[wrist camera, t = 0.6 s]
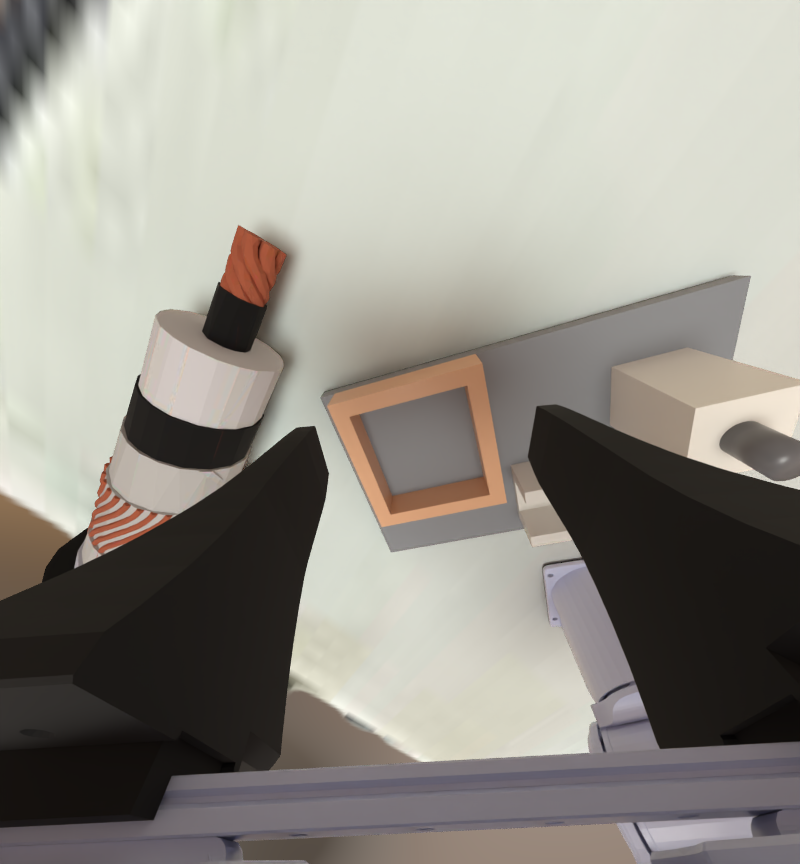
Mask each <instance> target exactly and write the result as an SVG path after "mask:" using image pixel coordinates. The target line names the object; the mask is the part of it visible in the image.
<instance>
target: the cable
mask: <svg viewBox="0 0 800 864" xmlns="http://www.w3.org/2000/svg"><path fill="white" fill-rule="evenodd" d="M285 258H286V254H285V253H283V252H282V251H280V250H279V249H278V248H276V247H275V246H273V245H272V244H270V243H268V242H267V241H264V240H263V239H262V238H260V237H259V236H257V235H255V234H254V233H252V232H250V231H248V230H246V229H244V228H243V227H241V226H239V225H238V228H237V231H236V234H235V237H234V240H233V243H232V247H231V254H230V255H229V257H228V260H227V265H226V269H225V273H224V274H223V277H222V279H221V282H218V285H217V288H216V291H215V294H214V297H213V300H212V303H211V306H210V309H209V312H208V315H207V316H204V315H201V314H197V313H193V312H190V311H181V310H173V309H169V310H164V311H160V312H159V313H158V314H156V315H155V319H154V323H153V327H152V331H151V335H150V339H149V344H148V348H147V352H146V356H145V360H144V364H143V368H142V372H141V375H139V376H138V377H137V380H136V383H135V387H134V390H133V394H132V397H131V401H130V404H129V408H128V412H127V415H126V416H125V417H124V419H123V422H122V426H121V429H120V433H119V436H118V440H117V443H116V447H115V450H114V454H113V456H112V457H110V463H106V464H105V465H104V471H103V472H102V474H101V478H100V483H101V485H100V487H99V490H98V492H97V494H98V496H99V498H98V499H97V500H96V502H95V507H96V508H97V509H95V510H94V511H93V513H92V519H91V522H90V525H89V528H87V529H85V530H84V531H83V532H81V533H80V534H78V535H77V536H76V537H74V538H73V539H72V540H70V541H69V542H68V543H66V544H65V545H64V546H62V547H61V548H59V550H58V551H57V552H56V554H55V555H54V556H53V558H52V559H51V561H50V562H49V564H48V565H47V566H46V569H45V573H44V576H43V580H42V583H43V582H45V581H47V580H50V579H52V578H54V577H57V576H59V575H61V574H63V573H66V572H68V571H70V570H72V569H74V568H76V567H79V566H81V565H83V564H85V563H87V562H89V561H91V560H93V559H95V558H97V557H99V556H102V555H104V554H106V553H108V552H110V551H112V550H114V549H116V548H118V547H120V546H122V545H124V544H126V543H128V542H129V541H131V540H133V539H135V538H137V537H139V536H141V535H143V534H144V533H146V532H148V531H150V530H152V529H153V528H155V527H157V526H159V525H160V524H162V523H164V522H166V521H167V520H169V519H171V518H173V517H175V516H176V515H178V514H180V513H182V512H183V511H185V510H186V509H188V508H190V507H191V506H193V505H194V504H196V503H197V502H199V501H201V500H202V499H204V498H205V497H207V496H208V495H210V494H211V493H213V492H214V491H216V490H217V489H219V488H220V487H221V486H223V485H224V484H226V483H227V482H228V481H230V480H231V479H232V478H234V477H235V476H236V475H237V474H239V473H240V472H241V471H242V469H243V466H244V464H245V462H246V460H247V457H248V455H249V453H250V450H251V443H252V441H253V439H254V437H255V434H256V432H257V430H258V428H259V425H260V423H261V421H262V418H263V416H264V414H263V412H264V410H265V408H266V406H267V403H268V401H269V399H270V397H271V394H272V392H273V390H274V388H275V385H276V383H277V381H278V379H279V376H280V374H281V372H282V370H283V364H284V362H283V360H282V358H281V357H280V355H279V354H278V353H276V352H275V351H274V350H273V349H272V348H271V347H270V346H269V345H267V344H265V343H264V342H262V341H260V340H258V339H256V335H257V332H258V330H259V327H260V324H261V322H262V319H263V317H264V314H265V311H266V309H267V305H266V303H267V302H268V300H269V291H271V289H272V288H273V286H274V285H275V282H276V278H277V277H276V275H277V274H278V273H279V272H280V270H281V267H282V265H283V262H284V260H285Z"/></svg>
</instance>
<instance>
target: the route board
mask: <svg viewBox="0 0 800 864" xmlns="http://www.w3.org/2000/svg"><path fill="white" fill-rule="evenodd" d="M750 278H751V276H729V277H726V278H722V279H719V280H715V281H712V282H708V283H705V284H701V285H698V286H694V287H691V288H687V289H684V290H680V291H677V292H673V293H670V294H666V295H663V296H659V297H656V298H652V299H649V300H645V301H642V302H638V303H635V304H631V305H628V306H624V307H621V308H617V309H614V310H610V311H607V312H603V313H600V314H596V315H593V316H589V317H586V318H582V319H579V320H575V321H572V322H568V323H565V324H561V325H558V326H554V327H551V328H547V329H544V330H540V331H537V332H533V333H530V334H526V335H523V336H519V337H516V338H512V339H509V340H505V341H502V342H498V343H495V344H491V345H487V346H484V347H480V348H477V349H473V350H470V351H466V352H463V353H459V354H456V355H452V356H449V357H445V358H442V359H438V360H435V361H431V362H428V363H424V364H421V365H417V366H414V367H410V368H407V369H403V370H400V371H396V372H393V373H389V374H386V375H382V376H379V377H375V378H372V379H368V380H365V381H361V382H358V383H354V384H351V385H347V386H344V387H340V388H337V389H333V390H330V391H326V392H324V393H323V395H322V396H321V400H322V402H323V404H324V406H325V409H326V411H327V413H328V415H329V417H330V419H331V422H332V424H333V426H334V428H335V430H336V433H337V435H338V437H339V439H340V441H341V444H342V446H343V448H344V450H345V452H346V455H347V457H348V459H349V461H350V463H351V465H352V468H353V470H354V472H355V474H356V476H357V479H358V481H359V483H360V485H361V487H362V490H363V492H364V494H365V496H366V498H367V501H368V503H369V505H370V507H371V509H372V511H373V514H374V516H375V518H376V520H377V522H378V525H379V527H380V529H381V531H382V533H383V536H384V538H385V540H386V542H387V544H388V547H389V549H390V551H391V552H396V551H402V550H407V549H413V548H418V547H424V546H430V545H435V544H441V543H447V542H452V541H458V540H463V539H469V538H475V537H480V536H486V535H492V534H497V533H503V532H508V531H514V530H520V529H524V527H523V525H522V522H521V520H520V518H519V514H518V508H517V501H516V495H515V489H514V482H513V476H512V469H511V465H514V464H519V463H523V462H528V461H529V459H528V451H529V446H530V440H531V435H532V429H533V423H534V418H535V412H536V406H542V405H553V404H557V405H560V406H563V407H566V408H568V409H571V410H573V411H575V412H578V413H580V414H582V415H585V416H587V417H589V418H591V419H594V420H596V421H598V422H600V423H602V424H605V425H607V426H609V427H611V428H613V427H612V426H611V425H610V404H611V368H612V367H613V366H617V365H621V364H625V363H629V362H632V361H636V360H640V359H644V358H648V357H652V356H656V355H660V354H664V353H668V352H672V351H676V350H679V349H683V348H687V347H688V348H691V349H695V350H698V351H702V352H705V353H708V354H712V355H715V356H719V357H722V358H726V359H729V360H733V356H734V351H735V347H736V342H737V337H738V333H739V328H740V324H741V319H742V314H743V310H744V305H745V301H746V296H747V291H748V287H749V282H750ZM473 354H476V355H477V357H478V358H479V359H480V361H481V362H482V364H483V370H484V375H485V381H486V387H487V392H488V398H489V404H490V409H491V415H492V421H493V426H494V432H495V438H496V443H497V449H498V455H499V460H500V466H501V472H502V477H503V483H504V489H505V494H506V500H507V503H504V504H499V505H494V506H489V507H483V508H478V509H473V510H468V511H463V512H458V513H452V514H447V515H442V516H437V517H432V518H427V519H422V520H416V521H411V522H406V523H401V524H396V525H391V526H386V527H381V525H380V522H379V520H378V518H377V516H376V514H375V511H374V509H373V507H372V505H371V503H370V500H369V498H368V496H367V494H366V492H365V489H364V487H363V485H362V483H361V480H360V478H359V476H358V474H357V472H356V469H355V467H354V465H353V463H352V461H351V458H350V456H349V454H348V452H347V450H346V447H345V445H344V443H343V441H342V438H341V436H340V434H339V432H338V430H337V427H336V425H335V423H334V421H333V419H332V416H331V414H330V412H329V410H328V408H327V405H328V404H329V402H330V400H331V399H332V397H333V396H334V394H335V393H339V392H342V391H346V390H349V389H353V388H356V387H360V386H363V385H367V384H370V383H374V382H378V381H381V380H385V379H388V378H392V377H395V376H399V375H402V374H406V373H409V372H413V371H416V370H420V369H424V368H427V367H431V366H434V365H438V364H441V363H445V362H448V361H452V360H455V359H459V358H462V357H466V356H470V355H473ZM359 415H360V417H361V420H362V422H363V425H364V427H365V430H366V432H367V435H368V437H369V440H370V442H371V445H372V447H373V450H374V452H375V455H376V457H377V460H378V462H379V464H380V467H381V469H382V472H383V474H384V477H385V479H386V482H387V484H388V487H389V489H390V492H391V494H392V496H395V495H399V494H404V493H409V492H413V491H418V490H423V489H428V488H432V487H437V486H442V485H447V484H451V483H456V482H461V481H465V480H470V479H475V478H480V477H484V476H483V471H482V466H481V462H480V457H479V452H478V447H477V443H476V438H475V433H474V429H473V424H472V419H471V414H470V410H469V405H468V400H467V396H466V391H465V386H464V387H460V388H456V389H452V390H449V391H445V392H441V393H437V394H433V395H430V396H426V397H422V398H418V399H415V400H411V401H407V402H403V403H400V404H396V405H392V406H388V407H385V408H381V409H377V410H373V411H370V412H366V413H362V414H359Z"/></svg>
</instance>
